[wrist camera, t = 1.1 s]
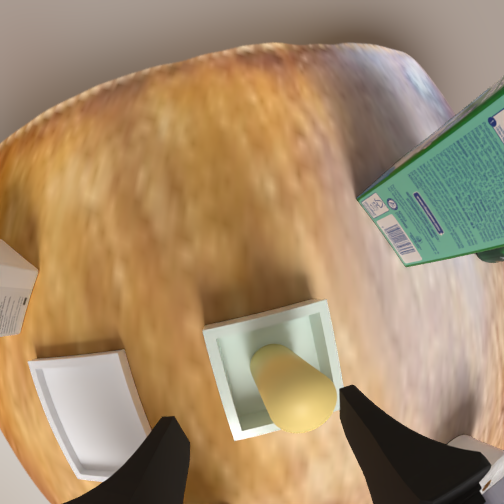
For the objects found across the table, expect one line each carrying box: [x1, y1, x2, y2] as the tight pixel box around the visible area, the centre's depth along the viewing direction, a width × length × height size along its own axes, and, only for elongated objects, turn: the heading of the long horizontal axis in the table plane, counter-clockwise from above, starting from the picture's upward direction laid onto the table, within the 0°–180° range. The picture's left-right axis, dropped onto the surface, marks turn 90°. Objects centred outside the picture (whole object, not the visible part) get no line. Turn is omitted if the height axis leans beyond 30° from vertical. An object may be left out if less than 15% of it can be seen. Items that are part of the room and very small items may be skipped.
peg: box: [250, 344, 337, 433], centre depth 18 cm, size 4×4×9 cm
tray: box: [28, 349, 152, 482], centre depth 19 cm, size 14×11×2 cm
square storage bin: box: [202, 299, 343, 441], centre depth 21 cm, size 10×10×4 cm
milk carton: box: [357, 76, 504, 267], centre depth 14 cm, size 9×9×25 cm
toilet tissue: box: [447, 435, 504, 494], centre depth 18 cm, size 11×12×10 cm
